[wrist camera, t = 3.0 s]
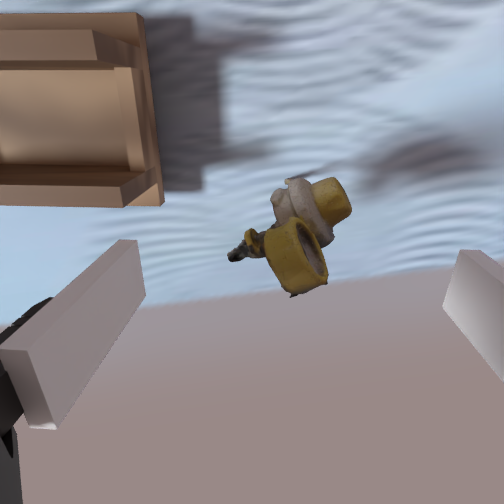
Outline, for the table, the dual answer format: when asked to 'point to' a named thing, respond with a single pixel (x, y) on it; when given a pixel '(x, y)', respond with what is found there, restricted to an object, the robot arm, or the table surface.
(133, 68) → the stand
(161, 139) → the table surface
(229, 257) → the regulator
